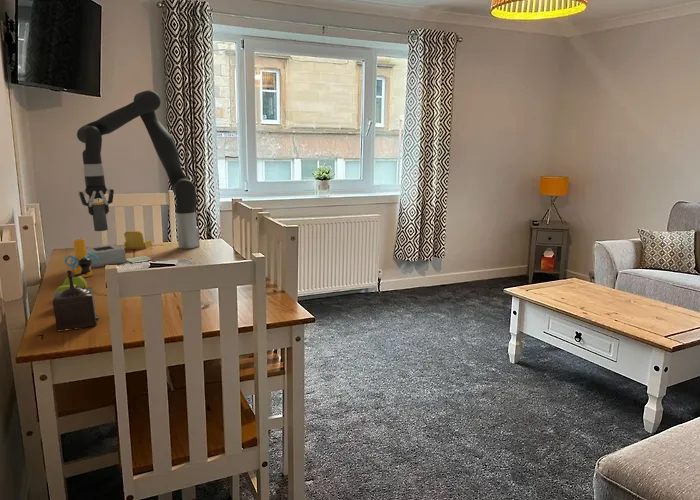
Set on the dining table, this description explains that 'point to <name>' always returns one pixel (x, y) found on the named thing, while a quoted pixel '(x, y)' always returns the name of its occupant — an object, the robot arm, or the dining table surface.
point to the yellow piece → (136, 240)
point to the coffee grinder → (75, 303)
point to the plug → (99, 216)
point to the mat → (137, 258)
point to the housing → (107, 254)
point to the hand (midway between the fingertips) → (99, 214)
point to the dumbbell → (76, 282)
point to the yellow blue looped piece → (80, 256)
